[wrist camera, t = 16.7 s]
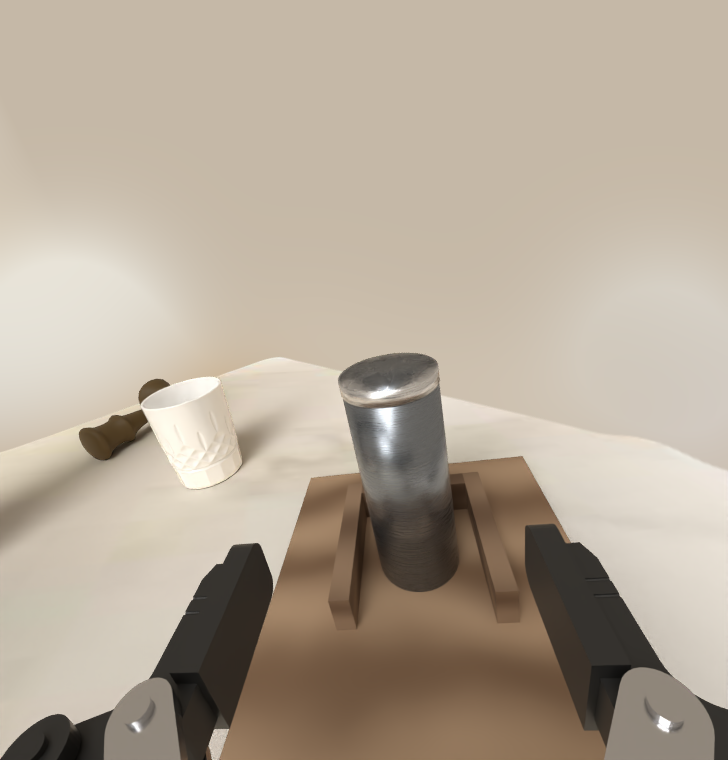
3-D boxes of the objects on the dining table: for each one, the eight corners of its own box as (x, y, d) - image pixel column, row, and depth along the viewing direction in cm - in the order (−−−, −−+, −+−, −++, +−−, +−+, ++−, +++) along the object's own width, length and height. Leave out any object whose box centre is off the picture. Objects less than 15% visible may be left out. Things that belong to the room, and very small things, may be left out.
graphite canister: (363, 559, 26) (319, 380, 21) (416, 514, 29) (388, 348, 24) (422, 610, 22) (385, 403, 17) (476, 552, 25) (459, 360, 20)
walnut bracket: (717, 817, 13) (734, 774, 12) (210, 805, 16) (185, 768, 15) (522, 461, 34) (522, 432, 32) (312, 482, 36) (305, 456, 35)
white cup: (200, 453, 46) (170, 381, 42) (258, 448, 45) (233, 372, 41) (161, 496, 39) (121, 413, 35) (229, 491, 38) (196, 404, 34)
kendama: (79, 461, 52) (190, 394, 68) (121, 470, 48) (229, 397, 64) (58, 425, 49) (178, 365, 65) (100, 431, 45) (218, 365, 61)
